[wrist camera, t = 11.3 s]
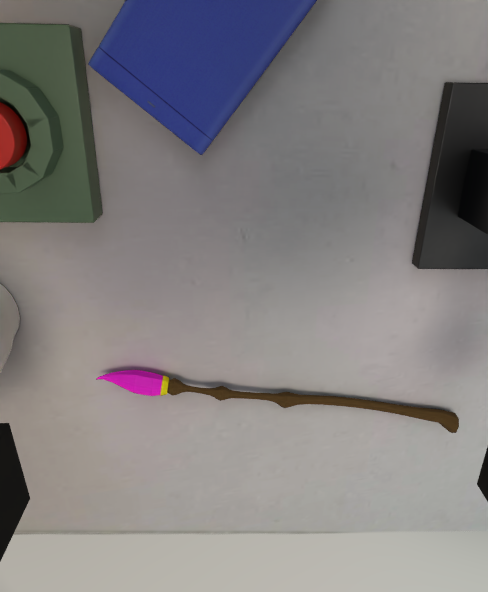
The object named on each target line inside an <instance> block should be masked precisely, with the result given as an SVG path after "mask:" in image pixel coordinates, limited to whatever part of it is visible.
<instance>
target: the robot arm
mask: <svg viewBox="0 0 488 592" xmlns="http://www.w3.org/2000/svg"><path fill="white" fill-rule="evenodd" d="M477 485H478V487H479V488H480V490H481V491H482V493H483V495H484V496H485V498H486V499H487V501H488V447H487V451H486V454H485V458H484V461H483V465H482V468H481V472H480V475H479V479H478V482H477ZM29 500H30V496H29V493H28V489H27V486H26V482H25V478H24V475H23V471H22V468H21V464H20V461H19V457H18V454H17V450H16V446H15V443H14V439H13V436H12V432H11V429H10V425H9V423H0V561H1V559H2V557H3V554H4V552H5V551H6V548H7V546H8V544H9V542H10V540H11V538H12V536H13V534H14V531H15V529H16V527H17V525H18V523H19V521H20V519H21V517H22V514H23V512H24V510H25V508H26V506H27V504H28V502H29Z"/></svg>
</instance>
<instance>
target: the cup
mask: <svg viewBox="0 0 488 592" xmlns="http://www.w3.org/2000/svg"><path fill="white" fill-rule="evenodd" d="M19 321H20V316H19V311H18V306H17V304H16V302H15V300H14V298H13V297H12V295H11V294H10V293H9V292H8V291H7V289H6V288H5V287H4V286H3V285H1V284H0V373H1V371H2V369H3V367H4V365H5V363H6V360H7V358H8V356H9V354H10V352H11V350H12V344H13V338H14V337H15V335H16V332H17V330H18V328H19Z"/></svg>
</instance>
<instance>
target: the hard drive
mask: <svg viewBox="0 0 488 592" xmlns="http://www.w3.org/2000/svg"><path fill="white" fill-rule="evenodd" d="M316 1H317V0H126V1H125V3H124V4H123V6H122V8H121V10H120V11H119V13H118V15H117V17H116V18H115V20H114V21H113V23H112V25H111V27H110V28H109V30H108V31H107V33H106V35H105V37H104V38H103V40H102V42H101V43H100V45H99V47H98V48H97V50H96V51H95V53H94V55H93V56H92V58H91V60H90V61H89V63H88V65H90V66H91V67H92V68H93V69H94V70H95V71H97V72H98V73H99V74H100V75H101V76H103V77H104V78H105V79H106V80H108V81H109V82H110V83H111V84H113V85H114V86H115V87H116V88H118V89H119V90H120V91H121V92H123V93H124V94H125V95H126V96H128V97H129V98H130V99H131V100H133V101H134V102H135V103H136V104H137V105H139V106H140V107H141V108H142V109H144V110H145V111H146V112H148V113H149V114H150V115H151V116H153V117H154V118H155V119H156V120H158V121H159V122H160V123H161V124H162V125H164V126H165V127H166V128H167V129H169V130H170V131H171V132H173V133H174V134H175V135H176V136H177V137H179V138H180V139H181V140H182V141H184V142H185V143H186V144H187V145H189V146H190V147H191V148H192V149H194V150H195V151H196V152H198V153H199V154H200V155H202V154H203V153H204V152H205V150H206V149H207V148H208V146H209V145H210V144H211V142H212V141H213V140H214V138H215V137H216V136H217V134H218V133H219V132H220V130H221V129H222V128H223V126H224V125H225V124H226V122H227V121H228V120H229V118H230V117H231V115H232V114H233V113H234V112H235V110H236V109H237V108H238V106H239V105H240V103H241V102H242V101H243V99H244V98H245V97H246V95H247V94H248V93H249V91H250V90H251V89H252V87H253V86H254V85H255V83H256V82H257V81H258V79H259V78H260V77H261V75H262V74H263V72H264V71H265V70H266V69H267V67H268V66H269V65H270V63H271V62H272V60H273V59H274V58H275V56H276V55H277V54H278V52H279V51H280V50H281V48H282V47H283V46H284V44H285V43H286V42H287V40H288V39H289V37H290V36H291V35H292V33H293V32H294V31H295V29H296V28H297V27H298V25H299V24H300V23H301V21H302V20H303V19H304V17H305V16H306V15H307V13H308V12H309V10H310V9H311V8H312V6H313V5H314V4H315V2H316Z"/></svg>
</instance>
